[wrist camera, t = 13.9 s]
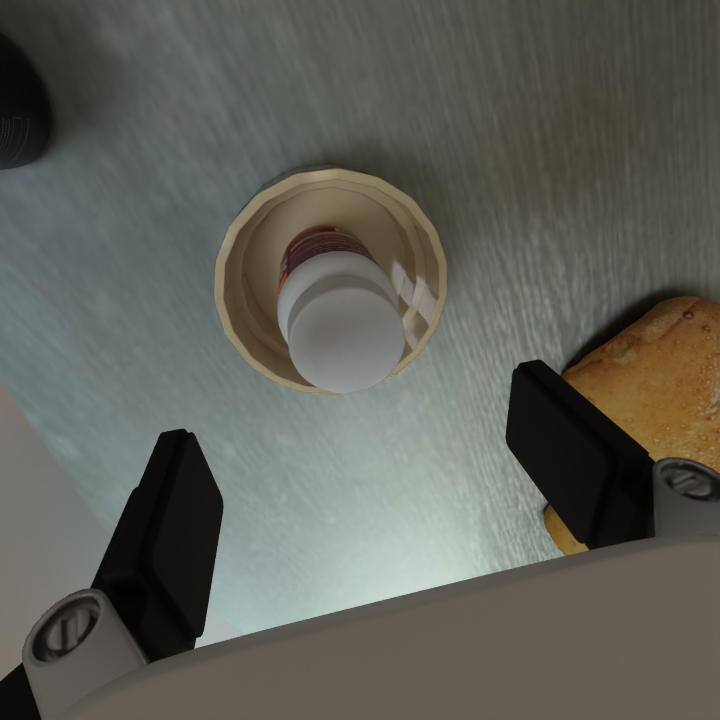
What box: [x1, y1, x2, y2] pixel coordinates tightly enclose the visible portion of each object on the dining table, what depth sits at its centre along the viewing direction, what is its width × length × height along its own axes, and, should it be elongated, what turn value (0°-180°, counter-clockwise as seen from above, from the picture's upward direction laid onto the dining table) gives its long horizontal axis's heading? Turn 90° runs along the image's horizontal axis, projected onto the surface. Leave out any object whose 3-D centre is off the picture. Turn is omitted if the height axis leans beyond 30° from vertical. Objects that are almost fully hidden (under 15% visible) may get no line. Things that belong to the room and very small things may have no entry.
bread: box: [544, 295, 720, 556], centre depth 36 cm, size 32×20×10 cm, turn 9°
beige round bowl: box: [214, 163, 447, 395], centre depth 24 cm, size 13×13×6 cm
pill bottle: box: [277, 225, 405, 393], centre depth 21 cm, size 6×6×11 cm
